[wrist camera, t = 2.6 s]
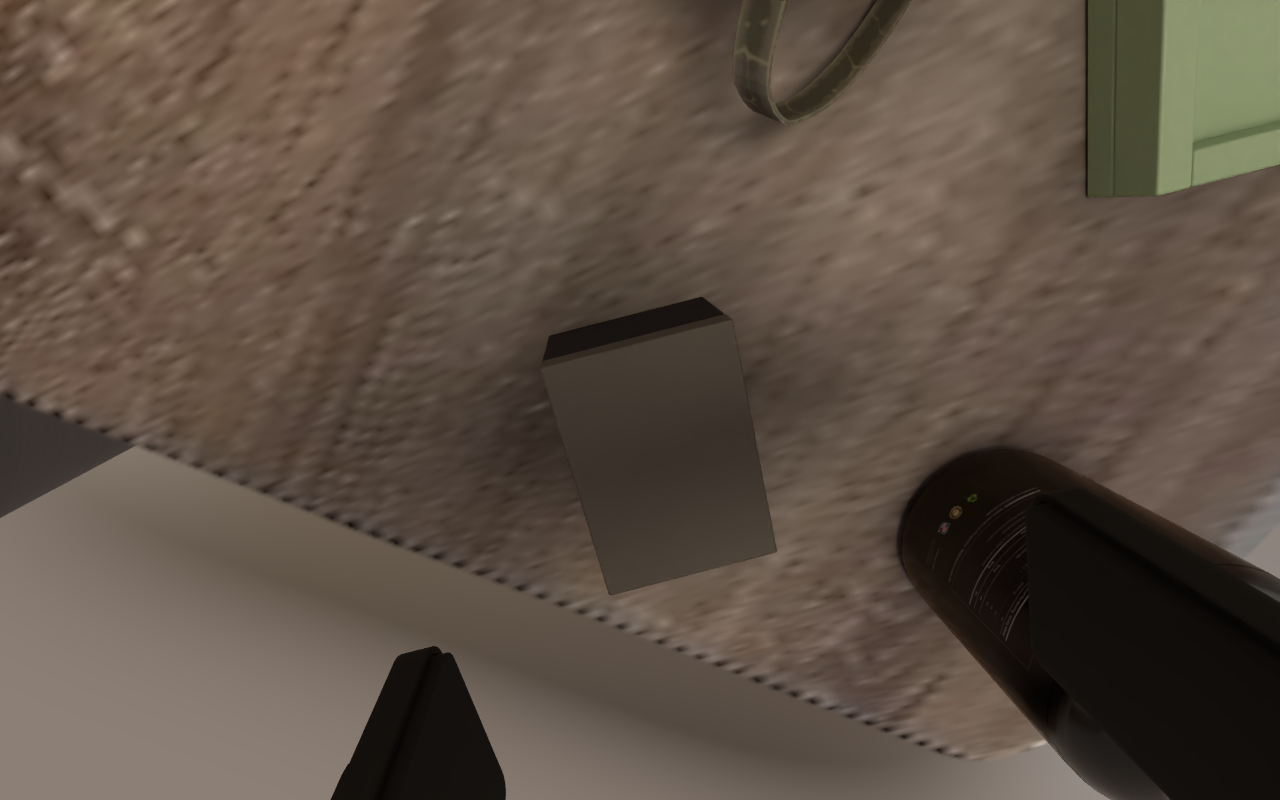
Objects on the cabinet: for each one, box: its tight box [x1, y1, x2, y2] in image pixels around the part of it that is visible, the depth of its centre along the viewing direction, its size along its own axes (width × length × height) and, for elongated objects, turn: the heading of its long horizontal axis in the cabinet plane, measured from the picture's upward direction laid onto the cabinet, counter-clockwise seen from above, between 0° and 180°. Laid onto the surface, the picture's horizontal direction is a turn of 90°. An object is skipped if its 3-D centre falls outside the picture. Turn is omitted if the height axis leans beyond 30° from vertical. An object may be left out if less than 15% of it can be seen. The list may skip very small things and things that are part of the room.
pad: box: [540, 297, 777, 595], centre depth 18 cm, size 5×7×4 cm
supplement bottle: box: [902, 450, 1280, 800], centre depth 17 cm, size 7×7×12 cm
